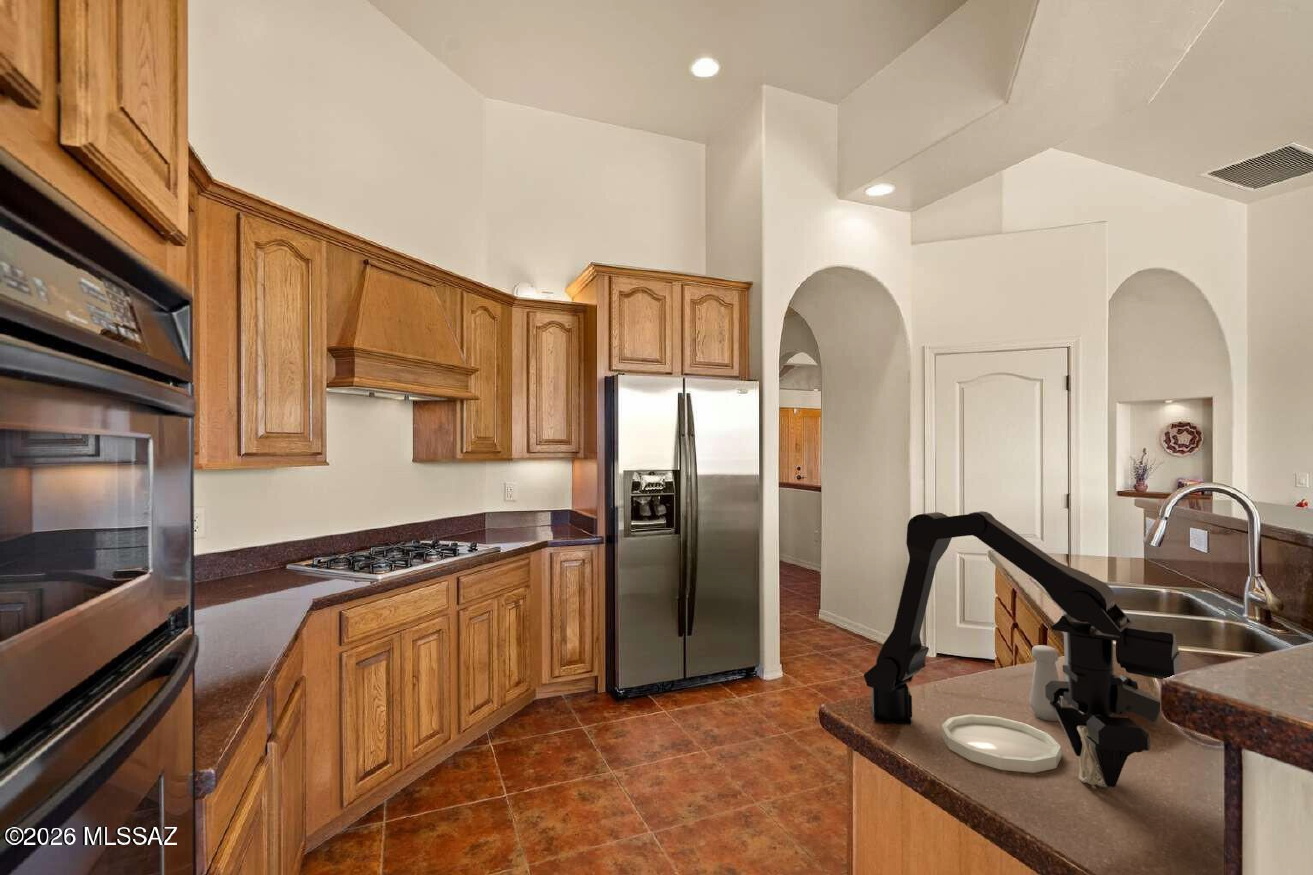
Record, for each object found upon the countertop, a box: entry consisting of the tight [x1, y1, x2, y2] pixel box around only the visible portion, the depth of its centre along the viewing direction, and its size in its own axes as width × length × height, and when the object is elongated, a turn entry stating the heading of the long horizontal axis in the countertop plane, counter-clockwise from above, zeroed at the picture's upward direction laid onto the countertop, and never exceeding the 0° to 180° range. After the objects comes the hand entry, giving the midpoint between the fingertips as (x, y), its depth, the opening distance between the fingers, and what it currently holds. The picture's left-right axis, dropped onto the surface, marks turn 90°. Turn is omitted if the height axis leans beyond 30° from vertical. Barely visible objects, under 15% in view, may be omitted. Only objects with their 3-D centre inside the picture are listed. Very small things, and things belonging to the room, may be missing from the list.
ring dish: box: [941, 713, 1062, 774], centre depth 103 cm, size 17×17×2 cm
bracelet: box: [1077, 726, 1108, 788], centre depth 91 cm, size 4×8×8 cm, turn 148°
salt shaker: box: [1028, 644, 1060, 722], centre depth 115 cm, size 6×6×13 cm
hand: (1094, 770), depth 91 cm, fingers open, 9 cm apart
